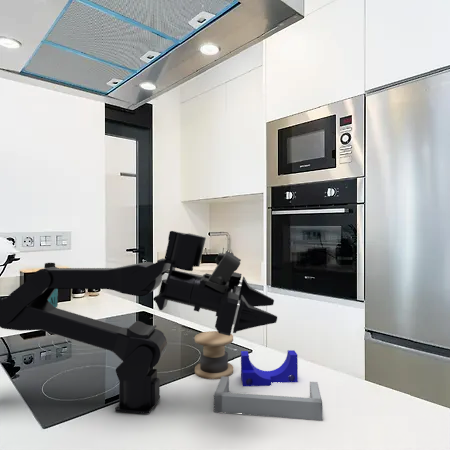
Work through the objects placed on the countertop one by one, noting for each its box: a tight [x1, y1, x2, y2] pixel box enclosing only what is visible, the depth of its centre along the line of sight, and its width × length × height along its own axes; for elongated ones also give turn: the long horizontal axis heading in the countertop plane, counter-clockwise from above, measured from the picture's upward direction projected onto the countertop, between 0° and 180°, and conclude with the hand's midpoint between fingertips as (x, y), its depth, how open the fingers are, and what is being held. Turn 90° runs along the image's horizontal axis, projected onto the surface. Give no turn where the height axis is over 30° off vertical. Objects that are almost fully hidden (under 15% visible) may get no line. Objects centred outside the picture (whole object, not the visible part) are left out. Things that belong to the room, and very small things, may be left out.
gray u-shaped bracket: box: [213, 376, 324, 421], centre depth 67 cm, size 19×8×3 cm, turn 81°
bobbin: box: [194, 330, 234, 380], centre depth 83 cm, size 9×9×8 cm
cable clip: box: [240, 349, 299, 387], centre depth 77 cm, size 12×4×6 cm, turn 92°
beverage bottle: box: [43, 262, 59, 308], centre depth 148 cm, size 6×7×20 cm
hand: (275, 310), depth 66 cm, fingers open, 9 cm apart
